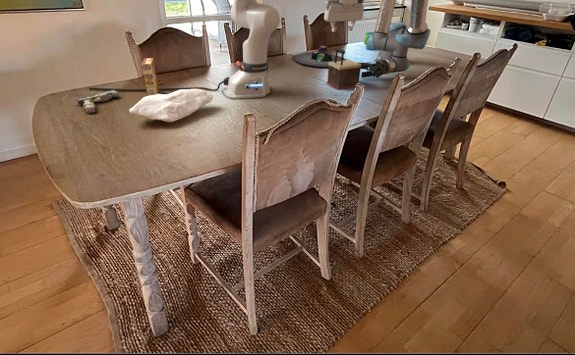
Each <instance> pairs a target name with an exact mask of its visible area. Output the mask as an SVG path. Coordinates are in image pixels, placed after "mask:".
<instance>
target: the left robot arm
mask: <svg viewBox="0 0 575 355" xmlns="http://www.w3.org/2000/svg"><path fill="white" fill-rule="evenodd" d="M364 3H365V0H327V1H326V2H325V10H324V15H323V19H324V22H328V23H330V26H331V32H333V33H335V32H337V29H338V28H337V27H336V22H350V24H349V25H348V26H347V31H348V32H349V31H353V28H354V26H355V24H356V22H357V21H361V20H362V19H363V17H364V11H365V6H364ZM230 18H231V20H232V22H233V23H234V24H235V25H237V26H238V27H241V28H243V29H249V35H248V38H247V39H246V40H244V41H243V43H242V59H243V60H242V61H236V62H235V65H236V66H237V67H239V69H237V71H236V72H235V73H234V74H232V75H231V76H227V77H225V78H224V79H223V80H222V81H220V82H219V83H218V84H217V87H216V88H214V89H212V88H207V87H204V86H193V87H192V86H190V87H188V86H187V87H166V88H162V87H161V88H158V90H159V91H177V90H181V89H202V90H204V91H212V92H216V91H218V90H219V89H220V86H221V85H222V84H223V86H226V87H224V88H223V91H222V92H223V94H224V95H225V96H226V97H228V98H230V99H233V100H236V99H237V100H238V99H239V100H240V99H253V98H254V99H255V98H264V97H266V95H268V94H269V93H270V92H271V88H270V84H269V78H268V76H269V75H268V72H269V61H268V47H269V46H268V45H269V40H270V38H271V35H272V34H273V32H275V31H276V30H277V29H278V27H279V25H280V20H281V19H280V13H279V11H278V10H277V9H276V8H275V7H273V6H271V5H269V4H266V3H260V2H258V1H257V0H233V4H232V5H231V8H230ZM88 89H89V90H96V91H112V90H115V91H117V92H119V91H120V92H147V88H111V87H109V88H108V87H107V88H106V87H92V86H91V87H90V86H89V87H88Z"/></svg>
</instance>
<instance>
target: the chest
mask: <svg viewBox="0 0 575 355" xmlns="http://www.w3.org/2000/svg"><path fill="white" fill-rule="evenodd" d="M361 70H362V69H361V67H357V68H350V69H342V70H338V69H336V68H334V67H332V66H330V65H329V67H328V71H327V82H326V84H327V85H329V86H331V87H332V88H334V89H336V90H343V89H348V88H349V89H351V88H354V87H355V85H356V84H357V83H360V78H361Z"/></svg>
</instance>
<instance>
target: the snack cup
mask: <svg viewBox="0 0 575 355" xmlns="http://www.w3.org/2000/svg"><path fill="white" fill-rule="evenodd" d="M371 34H374V32H373V31H367V32H365V37H364V40H363V45H365V48H366V49H367V50H371V49H370V48H369V47H368V45H367V42H368V38H369V36H370V35H371Z"/></svg>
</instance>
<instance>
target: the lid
mask: <svg viewBox="0 0 575 355" xmlns="http://www.w3.org/2000/svg"><path fill="white" fill-rule="evenodd" d="M334 51H335V54H334V55H335V62H328V65H330V66H332V67H334V68H336V69H338V70H342V69H350V68H357V67H361V64H359V63H360V62H359V63H356V61H353V60H351V59H346V60H344V61H343V58H345V57H344V55H345V54H346V50H345V49H342V48H339V47H335V48H334ZM338 53H339V54H341V56H340V57H341V61H337V56H338Z"/></svg>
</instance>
